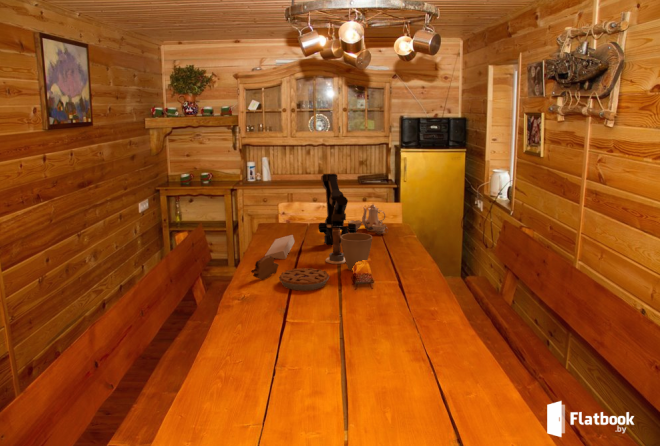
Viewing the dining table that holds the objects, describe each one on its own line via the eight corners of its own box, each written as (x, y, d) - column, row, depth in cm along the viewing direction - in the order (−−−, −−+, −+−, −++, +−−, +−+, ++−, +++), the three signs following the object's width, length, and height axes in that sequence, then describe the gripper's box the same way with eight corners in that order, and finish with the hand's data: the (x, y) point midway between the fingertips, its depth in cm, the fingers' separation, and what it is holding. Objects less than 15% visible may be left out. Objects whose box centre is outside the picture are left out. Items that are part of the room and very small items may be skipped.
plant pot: (334, 268, 267) (334, 236, 264) (358, 262, 276) (358, 231, 273) (354, 276, 256) (354, 242, 252) (378, 270, 265) (378, 237, 261)
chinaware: (344, 233, 344) (342, 207, 339) (357, 225, 357) (356, 200, 352) (385, 239, 329) (384, 211, 324) (397, 230, 343) (396, 204, 338)
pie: (293, 273, 260) (293, 263, 259) (336, 279, 252) (336, 268, 251) (270, 288, 241) (270, 277, 240) (316, 295, 232) (316, 283, 231)
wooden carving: (271, 272, 262) (270, 251, 260) (279, 273, 260) (279, 253, 258) (249, 282, 248) (248, 260, 246) (257, 283, 246) (257, 262, 244)
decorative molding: (267, 264, 285) (286, 259, 284) (264, 255, 284) (283, 250, 283) (278, 247, 318) (295, 242, 317) (275, 239, 317) (292, 234, 316)
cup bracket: (327, 257, 286) (327, 250, 285) (348, 258, 285) (348, 251, 284) (324, 263, 275) (324, 256, 275) (346, 264, 274) (346, 257, 273)
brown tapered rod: (338, 256, 282) (338, 227, 279) (341, 258, 279) (341, 228, 276) (331, 257, 281) (331, 228, 277) (334, 259, 277) (334, 229, 274)
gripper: (318, 206, 279) (315, 233, 271) (356, 207, 277) (354, 234, 269) (321, 219, 289) (318, 245, 280) (357, 219, 286) (355, 246, 278)
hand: (336, 242), depth 277 cm, fingers closed on brown tapered rod, 3 cm apart
